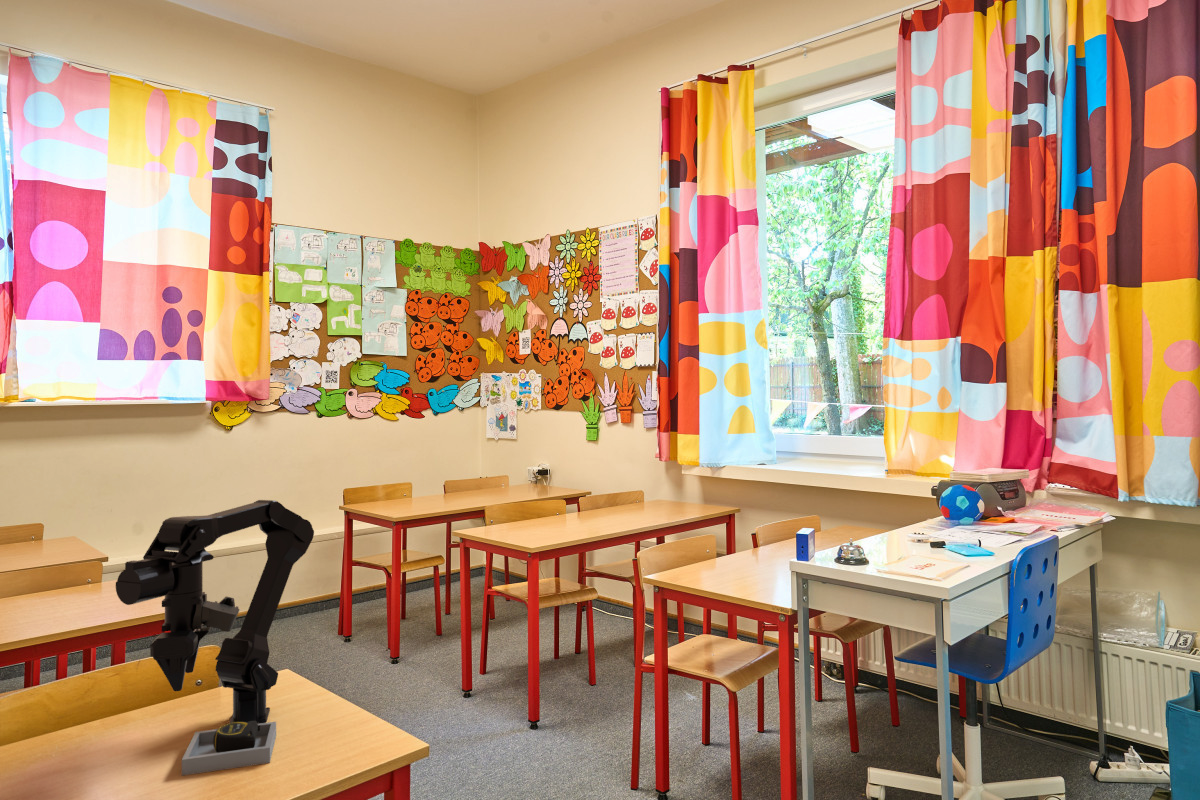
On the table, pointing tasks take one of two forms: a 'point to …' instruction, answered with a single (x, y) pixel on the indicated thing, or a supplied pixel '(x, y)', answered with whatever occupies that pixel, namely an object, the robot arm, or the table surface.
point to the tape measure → (236, 736)
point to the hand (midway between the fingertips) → (183, 681)
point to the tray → (207, 759)
